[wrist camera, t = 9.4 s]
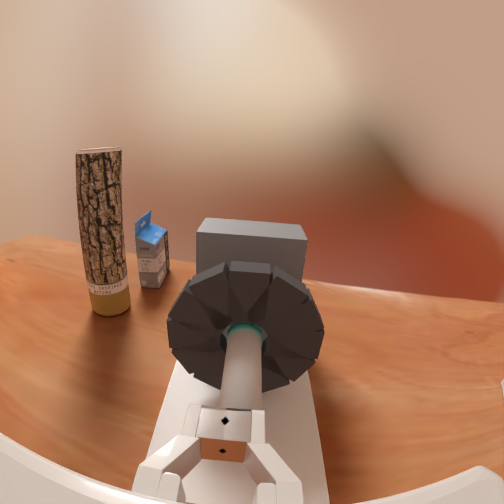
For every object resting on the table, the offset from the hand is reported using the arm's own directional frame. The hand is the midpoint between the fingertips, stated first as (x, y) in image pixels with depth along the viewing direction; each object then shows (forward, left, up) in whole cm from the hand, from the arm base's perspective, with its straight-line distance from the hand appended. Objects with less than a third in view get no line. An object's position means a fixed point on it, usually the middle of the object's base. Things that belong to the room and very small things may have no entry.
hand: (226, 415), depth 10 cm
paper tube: (-21, +30, -16) cm, 40 cm away
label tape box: (-17, +42, -16) cm, 48 cm away
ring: (+1, +14, -14) cm, 20 cm away
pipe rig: (+1, +14, -16) cm, 21 cm away
